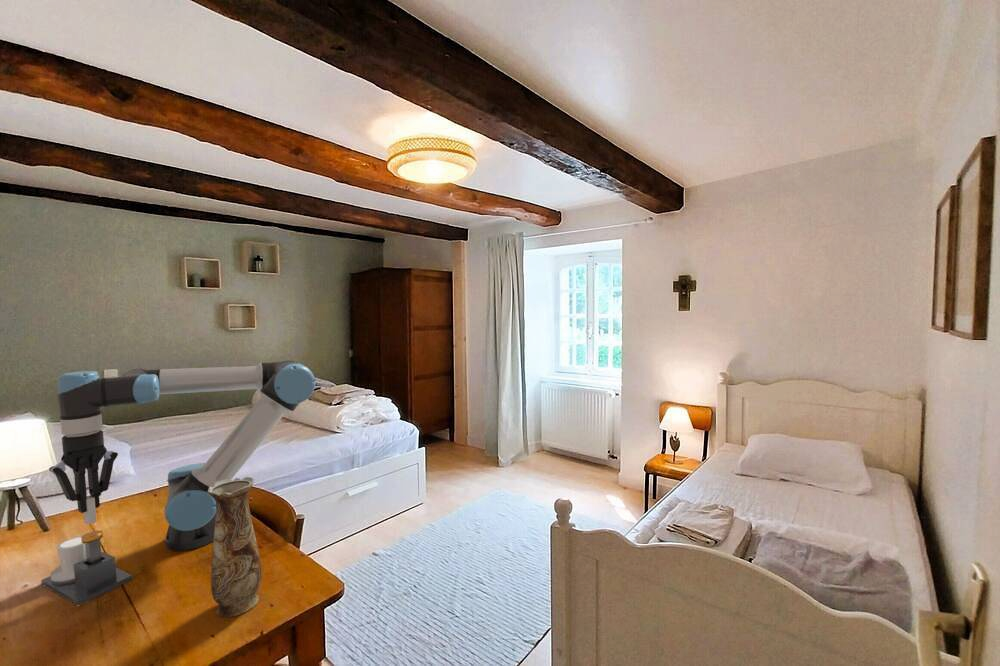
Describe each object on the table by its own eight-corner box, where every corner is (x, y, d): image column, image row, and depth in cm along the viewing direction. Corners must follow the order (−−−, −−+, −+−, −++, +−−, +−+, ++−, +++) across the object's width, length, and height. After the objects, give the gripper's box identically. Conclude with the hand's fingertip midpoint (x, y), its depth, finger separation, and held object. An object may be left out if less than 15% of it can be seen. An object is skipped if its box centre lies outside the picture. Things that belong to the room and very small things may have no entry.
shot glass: (54, 577, 111) (51, 551, 110) (65, 563, 117) (63, 538, 116) (89, 569, 114) (86, 544, 113) (98, 556, 120) (96, 532, 120)
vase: (208, 625, 97) (199, 498, 95) (218, 596, 107) (210, 480, 105) (260, 611, 102) (253, 489, 99) (264, 584, 111) (258, 472, 109)
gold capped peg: (108, 562, 112) (105, 532, 111) (88, 571, 108) (85, 540, 108) (100, 558, 114) (98, 529, 113) (80, 567, 110) (78, 536, 109)
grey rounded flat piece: (110, 566, 118) (109, 560, 118) (61, 589, 109) (60, 582, 109) (92, 558, 122) (91, 552, 122) (43, 578, 113) (43, 572, 113)
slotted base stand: (132, 579, 114) (130, 553, 114) (78, 606, 104) (75, 578, 104) (94, 561, 123) (92, 537, 122) (41, 584, 113) (39, 558, 112)
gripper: (107, 424, 116) (114, 508, 118) (40, 438, 104) (48, 531, 106) (121, 427, 113) (128, 513, 114) (54, 442, 101) (63, 538, 103)
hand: (90, 522), depth 110 cm, fingers closed
